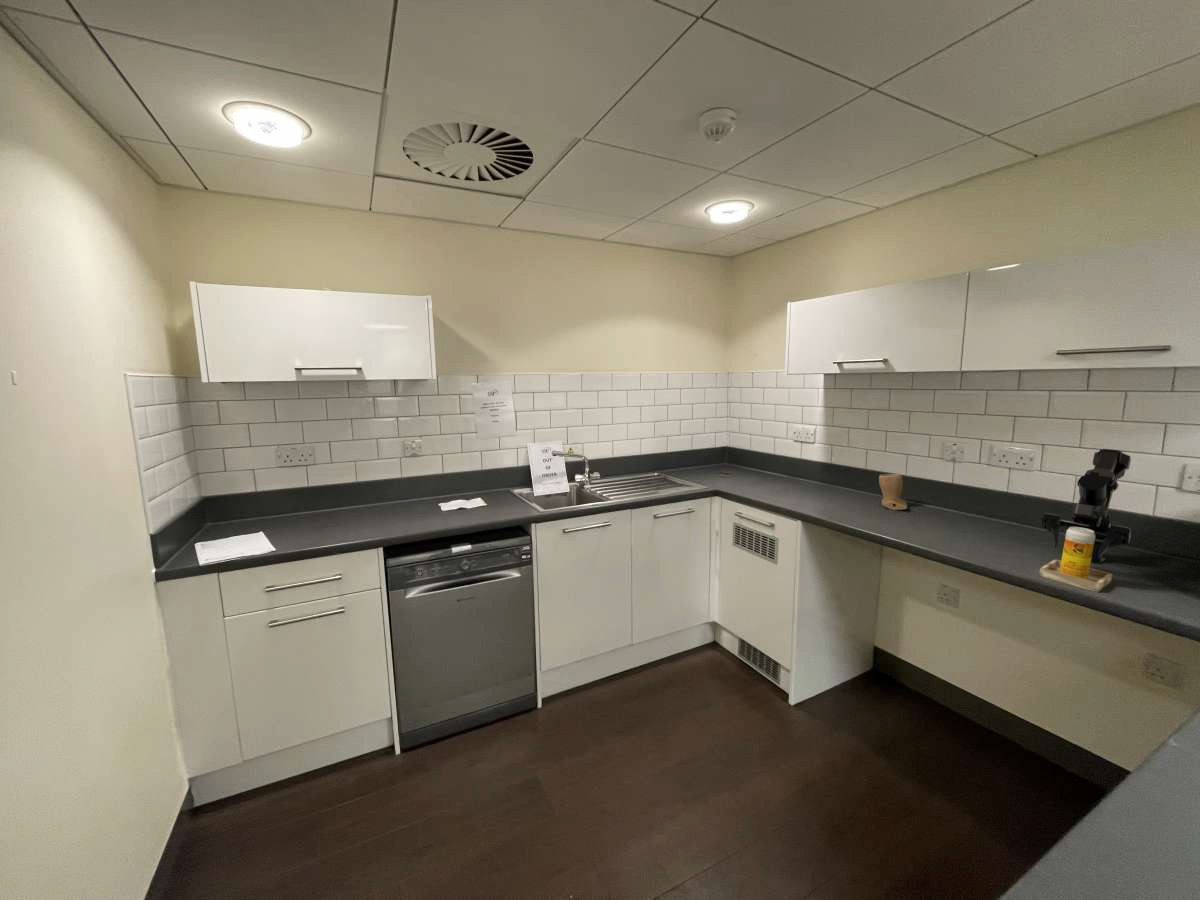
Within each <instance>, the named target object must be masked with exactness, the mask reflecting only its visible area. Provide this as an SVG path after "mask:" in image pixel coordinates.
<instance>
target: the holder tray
mask: <svg viewBox="0 0 1200 900" xmlns="http://www.w3.org/2000/svg"><path fill="white" fill-rule="evenodd" d="M1060 566H1061V560H1060V559H1053V560H1051V561H1050V562H1048V563H1046V564H1044V565H1042V566H1041V567H1040V568H1039V573H1038V576H1039V577H1041V576H1042V577H1041V578H1045V579H1048V578H1049V579H1048V580H1051V581H1052V580H1053V581H1056V582H1060V583H1064V584H1067V585H1071V586H1075V587H1078V588H1081V589H1085V590H1088V591H1092V592H1095V591H1096V592H1095V593H1099V592H1100V591H1102V590H1103V589H1104V588H1105V587H1107V586H1108V585H1109V584H1111V583H1112V582H1113V581H1112V580H1113V576H1114V573H1111V572H1108V571H1104V570H1101V569H1096V568H1092V567H1090V569H1089V574H1088V579H1082V578H1079V577H1075V576H1071V575H1067V574H1063V573H1060Z"/></svg>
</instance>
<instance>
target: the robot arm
mask: <svg viewBox="0 0 1200 900" xmlns="http://www.w3.org/2000/svg"><path fill="white" fill-rule="evenodd" d="M1092 458H1093V460H1092V465H1093V469H1088V470H1086V472H1085V473H1084V475H1081V476H1080V477H1079V479H1078V480H1077V487H1078V494H1079V500H1078V503H1074V506H1073V509H1072V513H1071V517H1070V518H1071V521H1070V520H1064V519H1062V516H1061V514H1055V513H1050V512H1049V513H1048V512H1044V513H1043V514H1042V516H1041V518H1040V520H1041V527H1042V529H1044V530H1046V532H1049V533H1051V536H1052V538H1053V544H1054V545H1053V546H1054V548H1058V546H1059V541H1060V535H1061V534H1060V532H1061V531H1060V530H1061V528H1062V527H1063V528H1067V529H1069V527H1081V528H1086V529H1090V530H1093V531H1094V534H1095V541H1094V547H1093V552H1092V558H1091V563H1094V564H1095V563H1096V564H1102V563H1103V562H1105V560H1106V558H1105V557H1103V555H1104V554H1106V553H1107V552H1108V551H1110V550H1111V549H1112V548H1114V547H1116V546H1117V547H1119V546H1120V547H1121V546H1122V545H1126V546H1128V545H1129V544H1130V540H1131V536H1132V535H1131V532H1132V529H1131V528H1130V527H1129V526H1123V525H1119V524H1113V523H1112V524H1111V519H1110V517H1109V515H1108V511H1109V507H1110V503H1111V500H1112V496H1113V492H1115V491H1117V489H1118V488H1119V485H1120V484H1119V483H1118V480H1119V479H1121V478H1123V477H1124V476H1125V474H1126V471H1127V470H1129V469H1130V467H1131V462H1132V461H1131V456H1130V455H1129V454H1126V453H1123V451H1122V450H1120V449H1111V448H1102V449H1099V451H1097V452H1094V454H1093V457H1092Z"/></svg>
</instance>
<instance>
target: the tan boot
mask: <svg viewBox="0 0 1200 900" xmlns="http://www.w3.org/2000/svg"><path fill="white" fill-rule="evenodd" d="M903 482H904V480H903V476H902V474H898V473H892V474H890V473H889V474H888V473H887V474H886V473H885V474H880V475H879V476H878V483H879V487H880V490H881V493H882V499H881V505H882V506H883V507H885V508H888V509H890V510H894V511H901V510H906V509H908V504H907V501H905V500H904V499H903V500H902V499H901V495H902V491H903V487H904V485H903Z"/></svg>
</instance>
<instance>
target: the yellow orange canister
mask: <svg viewBox="0 0 1200 900" xmlns="http://www.w3.org/2000/svg"><path fill="white" fill-rule="evenodd" d="M1065 532H1066V533H1065V538H1064V544H1063V548H1062V549H1063V550H1062V555H1061V560H1060V561H1061V566H1060V573H1063V574H1067V575H1071V576H1075V577H1079V578H1082V579H1088V574H1089V569H1090V568H1091V563H1092V562H1091V558H1092V552H1093V547H1094V541H1095V534H1094V531H1093V530H1090V529H1086V528H1081V527H1069V528H1067V530H1066V531H1065Z"/></svg>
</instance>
